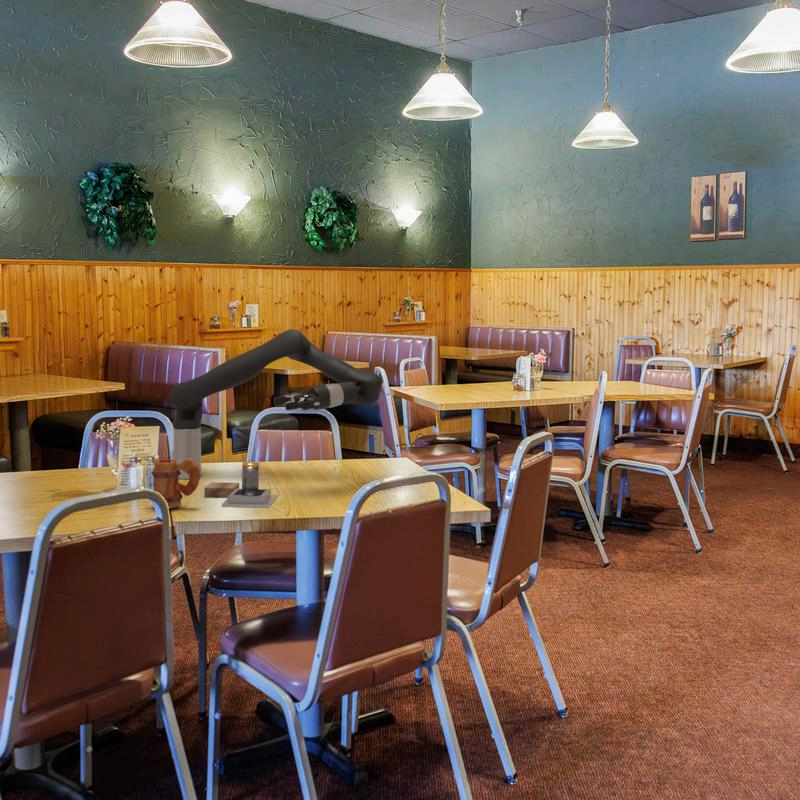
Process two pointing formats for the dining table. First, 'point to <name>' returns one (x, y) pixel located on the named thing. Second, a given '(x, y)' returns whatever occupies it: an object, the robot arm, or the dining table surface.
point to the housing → (250, 499)
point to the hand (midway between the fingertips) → (279, 404)
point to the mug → (175, 479)
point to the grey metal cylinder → (250, 478)
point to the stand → (220, 489)
